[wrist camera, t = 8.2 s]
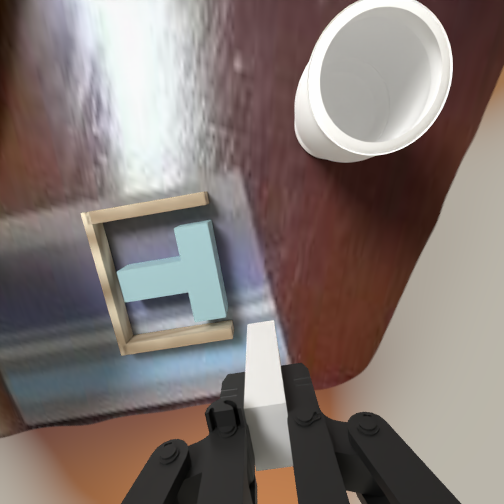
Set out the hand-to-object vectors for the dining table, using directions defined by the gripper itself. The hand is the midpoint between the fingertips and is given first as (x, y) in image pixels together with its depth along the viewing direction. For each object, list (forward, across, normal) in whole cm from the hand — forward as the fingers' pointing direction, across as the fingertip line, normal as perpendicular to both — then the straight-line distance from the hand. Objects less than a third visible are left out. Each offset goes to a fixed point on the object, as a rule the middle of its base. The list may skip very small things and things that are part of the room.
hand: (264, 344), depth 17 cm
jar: (+23, +11, +14) cm, 29 cm away
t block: (+23, -11, -1) cm, 25 cm away
